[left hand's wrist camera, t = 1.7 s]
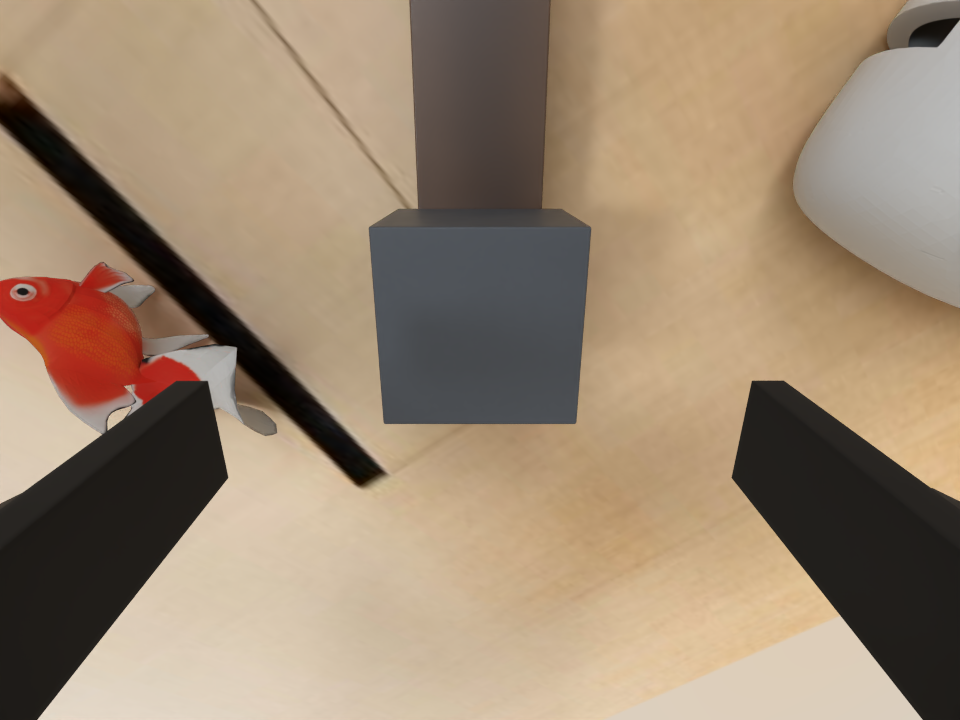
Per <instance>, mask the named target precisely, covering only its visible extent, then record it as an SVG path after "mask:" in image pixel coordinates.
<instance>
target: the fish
mask: <svg viewBox="0 0 960 720" xmlns="http://www.w3.org/2000/svg"><path fill="white" fill-rule="evenodd" d="M133 281H134V280H133V279H132V278H131V277H130V276H129V275H128V274H126V273H125V272H122V271H119V270H116V269H113V268H111V267H109V266H108V265H107V264H105V263H104V262H101V263H99V264H98V265H96V266H94V267H93V268H92V269H91V270H90V272H89V273H88V274H87V276H86V277H85V278H84V279H83V281H82V282H76V281H71V280H67V279H57V278H48V277H17V278H11V279H6V280H2V281H0V318H1V319H2V320H3V321H4V322H5V324H6V325H7V326H9V327H10V328H11V329H12V330H14V331H15V332H17V333H18V334H20V335H21V336H23V337H24V338H26V339H27V340H28V341H29V342H30V343H31V344H32V345H33V346H34V347H35V348H36V349H37V350H38V351H39V352H40V354H41V355H42V357H43V359H44V362H45V366H46V369H47V372H48V374H49V377H50V379H51V382H52V384H53V386H54V388H55V390H56V391H57V393H58V395H59V397H60V398H61V400H62V401H63V402H64V404H65V405H66V407H67V408H68V409H69V411H71V412H72V413H73V414H74V415H75V416H77V417H78V418H79V419H80V420H82V421H83V422H84V423H86V424H87V425H89V426H90V427H92V428H93V429H95V430H96V431H98V432H100V433H101V434H104V433H105V432H107V420H108V417H109V416H110V414H111V413H112V412H114V411H116V410H119V409H122V408H126V407H129V406H131V410H130V412H129V413H128V414H127V416H129V415H130V414H131V413H133V412H134V411H136V410H137V409H138V408H140V407H141V406H142V405H144V404H145V403H147V402H148V401H149V400H151V399H152V398H153V397H155V396H156V395H157V394H159V393H160V392H162V391H163V390H164V389H166V388H167V387H168V386H170V385H171V384H173V383H174V382H175V381H208V383H209V388H210V393H211V398H212V402H213V407H214V410H215V409H218V408H220V409H222V410H224V411H226V412H227V413H229V414H231V415H232V416H234V417H235V418H237V419H238V420H239V421H240V422H242V423H243V424H244V425H246V426H247V427H249V428H251V429H252V430H254V431H255V432H258V433H260V434H262V435H264V436H267V435H273V434H276V433H277V428H276V424H275V423H274V422H273V421H272V419H271V418H269V417H268V416H267V415H266V414H265V413H264V412H263V411H260V410H257V409H254V408H251V407H247V406H243V405H238V404H237V402H236V395H235V389H234V388H235V368H236V353H237V348H236V347H230V346H224V345H218V344H213V345H207V346H201V347H196V348H190V349H184V350H178V349H180V348H182V347H184V346H187V345H189V344H192V343H194V342H197V341H200V340H202V339H205V338H208V337H209V335H208V334H205V335H181V336H172V337H166V338H157V339H149V338H144V337H142V333H141V328H140V325H139V322H138V320H137V318H136V316H135V314H134V313H133V311H132V310H131V308H136V307H139V306H140V305H141V304H142V303H143V302H144V301H145V300H146V299H147V298H148V297H149V296H150V295H151V294H152V293H154V292H155V288H154V287H153V286H149V285H125V286H120V285H122V284H125V283H129V282H133ZM118 286H119V287H118ZM175 350H178V351H175ZM143 354H144V355H148V356H153V357H149V358H146V359H144V357H143ZM126 385H131V387H132V390H133V392H132V394H131V393H130V392H129V391H128V390H127V389H126V388H125V387H124V386H126ZM127 416H126V417H127ZM126 417H125V418H126ZM125 418H124V419H125Z"/></svg>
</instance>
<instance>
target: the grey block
mask: <svg viewBox="0 0 960 720" xmlns="http://www.w3.org/2000/svg"><path fill="white" fill-rule="evenodd" d="M369 237H370V250H371V263H372V276H373V289H374V302H375V315H376V328H377V341H378V354H379V367H380V380H381V393H382V406H383V419H384V424H576V419H577V406H578V393H579V380H580V367H581V354H582V341H583V328H584V315H585V302H586V289H587V276H588V263H589V250H590V237H591V227H590V226H588V225H586V224H585V223H583V222H582V221H580V220H578V219H577V218H575V217H574V216H572V215H570V214H569V213H567V212H566V211H564V210H562V209H398V210H396V211H394V212H393V213H391V214H390V215H388V216H386V217H385V218H383V219H382V220H380V221H378V222H377V223H375V224H374V225H372V226H370V227H369Z"/></svg>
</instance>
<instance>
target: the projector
mask: <svg viewBox="0 0 960 720" xmlns="http://www.w3.org/2000/svg"><path fill="white" fill-rule="evenodd" d="M887 43H888V46H889V48H890V50H887V51H883V52H879V53H877V54H874V55H872V56H870V57H868V58H866V59H865V60H864V61H863V62H861V63H860V65H859V66H858V67H857V69H856V70H855V71H854V73H853V74H852V75H851V77H850V78H849V79H848V81H847V82H846V84H845V85H844V86H843V88H842V89H841V90H840V92H839V93H838V95H837V96H836V97H835V99H834V100H833V102H832V103H831V104H830V106H829V107H828V109H827V110H826V111H825V113H824V114H823V116H822V117H821V119H820V120H819V122H818V123H817V125H816V126H815V128H814V130H813V131H812V133H811V135H810V136H809V138H808V140H807V141H806V143H805V145H804V147H803V149H802V152H801V154H800V156H799V159H798V161H797V165H796V169H795V173H794V178H793V191H794V196H795V199H796V201H797V204H798V205H799V207H800V208H801V210H802V211H803V213H804V214H805V215H806V216H807V217H808V218H809V219H810V220H811V221H812V222H813V223H814V224H815V225H816V226H817V227H818V228H819V229H820V230H821V231H823V232H824V233H825V234H826V235H828V236H829V237H830V238H832V239H833V240H834V241H835V242H837V243H838V244H839V245H841V246H842V247H844V248H845V249H847V250H848V251H850V252H851V253H853V254H854V255H856V256H857V257H859V258H860V259H862V260H863V261H865V262H867V263H868V264H870V265H871V266H873V267H875V268H876V269H878V270H879V271H881V272H883V273H885V274H887V275H888V276H890V277H892V278H894V279H896V280H897V281H899V282H901V283H903V284H905V285H907V286H909V287H911V288H913V289H915V290H917V291H919V292H921V293H924V294H926V295H928V296H930V297H933V298H935V299H938V300H940V301H943V302H945V303H948V304H950V305H953V306H955V307H958V308H960V0H908V1H907V2H906V4H905V5H904V6H903V8H902V9H901V10H900V12H899V13H898V14H897V15H896V17H895V18H894V19H893V21H892V22H891V24H890V26H889V28H888V32H887Z"/></svg>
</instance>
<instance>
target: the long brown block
mask: <svg viewBox="0 0 960 720" xmlns="http://www.w3.org/2000/svg"><path fill="white" fill-rule="evenodd" d="M550 1H551V0H410V24H411V48H412V71H413V95H414V119H415V143H416V167H417V191H418V209H542V191H543V167H544V143H545V120H546V96H547V72H548V49H549V25H550Z"/></svg>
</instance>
